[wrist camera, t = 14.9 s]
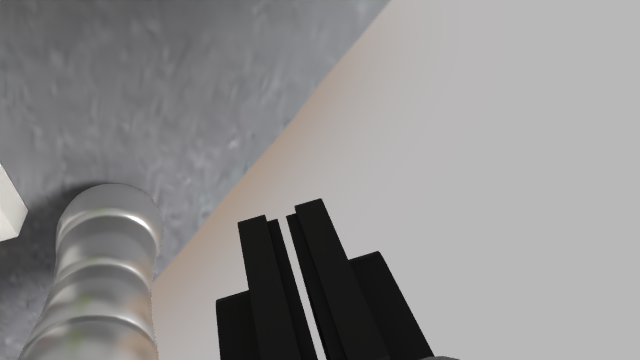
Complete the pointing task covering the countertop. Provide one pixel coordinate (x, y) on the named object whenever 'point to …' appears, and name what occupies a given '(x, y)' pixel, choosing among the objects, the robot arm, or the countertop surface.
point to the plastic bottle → (101, 279)
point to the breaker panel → (10, 208)
